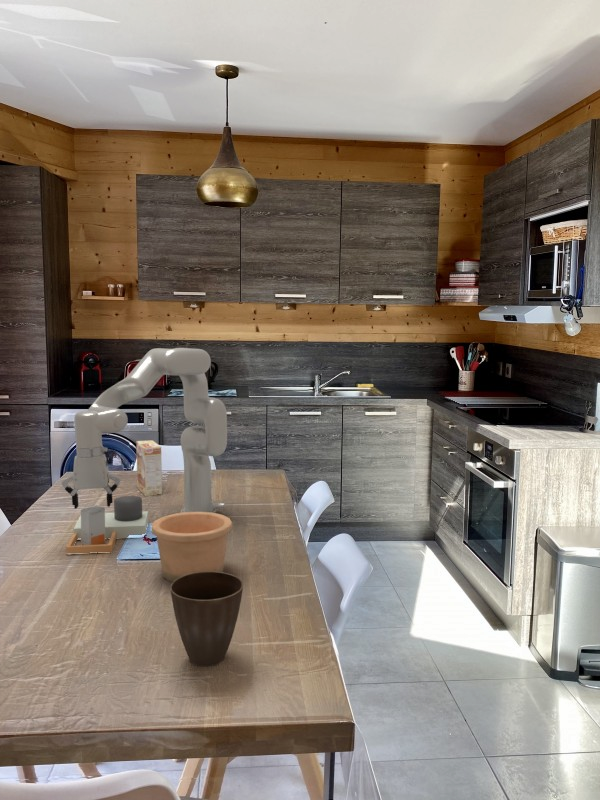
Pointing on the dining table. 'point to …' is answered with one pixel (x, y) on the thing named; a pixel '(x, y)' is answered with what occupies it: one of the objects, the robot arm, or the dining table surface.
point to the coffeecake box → (149, 467)
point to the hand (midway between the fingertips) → (92, 506)
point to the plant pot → (206, 614)
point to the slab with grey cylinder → (115, 525)
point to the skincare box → (93, 526)
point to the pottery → (191, 542)
